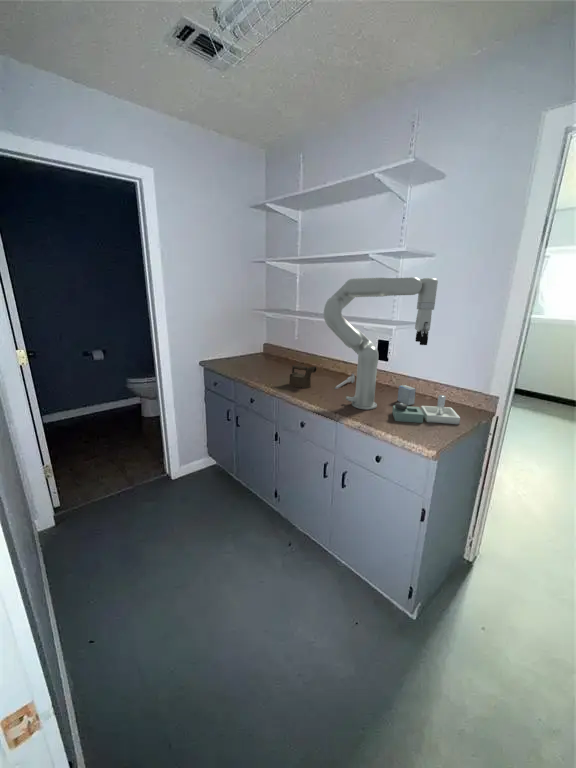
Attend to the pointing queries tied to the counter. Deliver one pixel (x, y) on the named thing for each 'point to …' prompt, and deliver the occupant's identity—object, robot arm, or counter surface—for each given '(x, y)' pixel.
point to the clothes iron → (301, 377)
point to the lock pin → (440, 405)
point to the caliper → (346, 381)
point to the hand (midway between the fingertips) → (421, 343)
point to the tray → (447, 417)
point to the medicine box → (406, 394)
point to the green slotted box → (407, 413)
